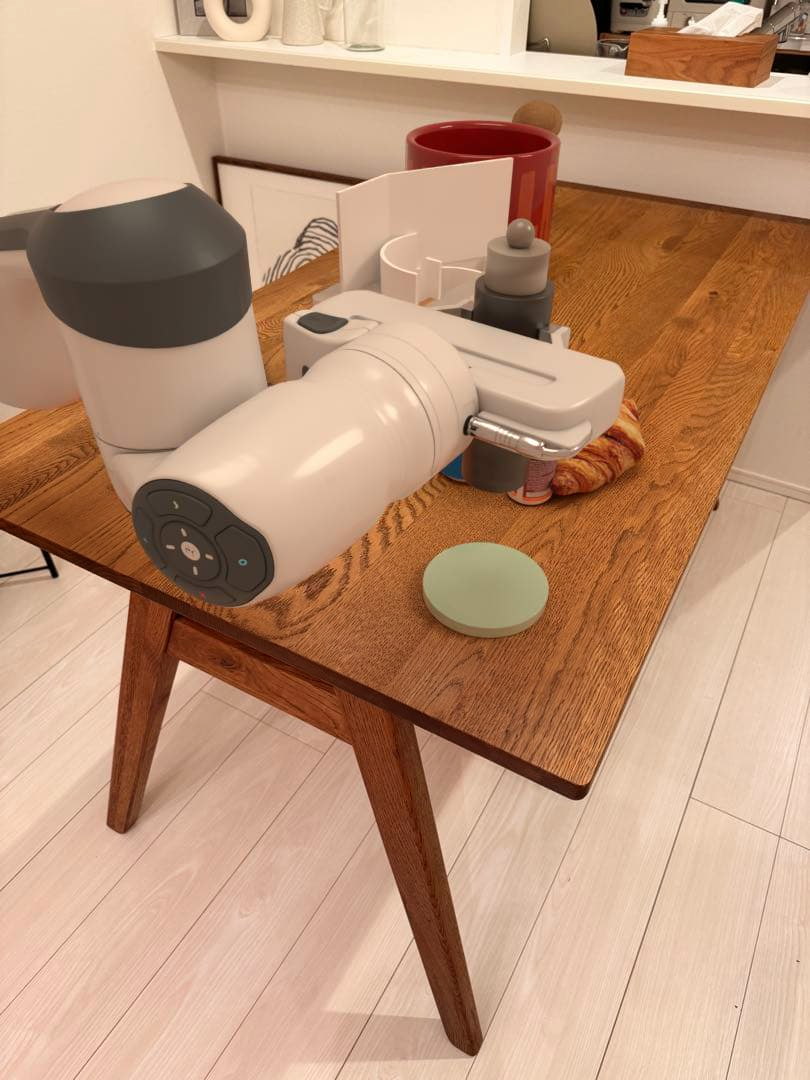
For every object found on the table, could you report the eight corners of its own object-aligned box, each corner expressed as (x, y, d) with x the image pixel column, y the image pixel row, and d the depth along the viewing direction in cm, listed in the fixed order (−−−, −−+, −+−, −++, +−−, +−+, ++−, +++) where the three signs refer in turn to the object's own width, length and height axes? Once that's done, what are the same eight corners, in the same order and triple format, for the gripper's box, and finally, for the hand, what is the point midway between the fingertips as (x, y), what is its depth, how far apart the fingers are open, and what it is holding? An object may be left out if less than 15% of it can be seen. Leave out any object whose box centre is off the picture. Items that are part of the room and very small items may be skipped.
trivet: (446, 650, 62) (446, 640, 61) (407, 564, 70) (407, 554, 69) (568, 622, 65) (570, 612, 64) (517, 542, 73) (518, 532, 72)
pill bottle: (559, 487, 79) (570, 417, 74) (540, 511, 76) (551, 440, 71) (517, 473, 81) (525, 404, 76) (497, 496, 78) (504, 426, 73)
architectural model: (436, 446, 85) (445, 232, 70) (295, 391, 95) (275, 192, 80) (551, 354, 103) (577, 166, 88) (422, 315, 112) (426, 140, 97)
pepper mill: (475, 498, 57) (498, 235, 45) (452, 461, 61) (467, 209, 49) (539, 487, 58) (579, 228, 46) (512, 451, 62) (542, 204, 50)
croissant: (597, 434, 94) (578, 374, 91) (678, 421, 87) (660, 356, 84) (527, 523, 80) (501, 456, 77) (617, 515, 73) (593, 441, 70)
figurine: (551, 213, 150) (565, 97, 137) (549, 224, 144) (564, 105, 132) (505, 210, 151) (515, 95, 138) (502, 221, 146) (512, 103, 133)
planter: (453, 239, 138) (459, 113, 125) (568, 267, 128) (588, 133, 115) (376, 277, 124) (373, 140, 111) (499, 312, 113) (512, 165, 100)
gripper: (573, 411, 37) (674, 316, 46) (263, 309, 46) (397, 246, 55) (555, 514, 41) (651, 409, 50) (273, 401, 50) (396, 329, 59)
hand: (516, 323), depth 52 cm, fingers closed on pepper mill, 5 cm apart
